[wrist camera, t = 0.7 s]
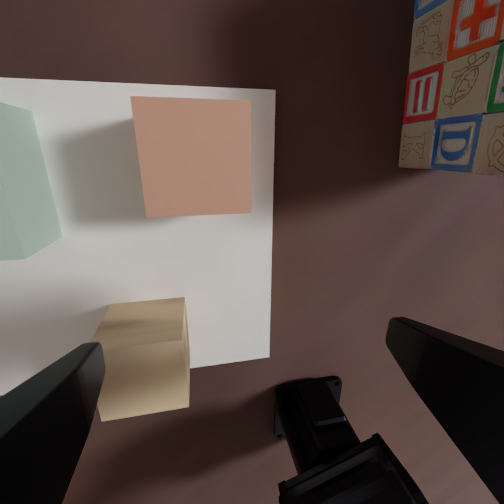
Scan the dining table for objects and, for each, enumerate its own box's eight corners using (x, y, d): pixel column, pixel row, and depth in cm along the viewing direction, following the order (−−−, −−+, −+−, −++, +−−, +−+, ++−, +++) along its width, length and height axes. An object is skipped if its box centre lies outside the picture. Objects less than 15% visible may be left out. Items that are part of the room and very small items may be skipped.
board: (267, 352, 24) (269, 357, 23) (-60, 397, 19) (-67, 404, 19) (272, 91, 17) (275, 89, 16) (-224, 70, 13) (-243, 66, 12)
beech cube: (190, 352, 21) (188, 406, 17) (122, 361, 21) (101, 421, 16) (184, 296, 20) (181, 339, 15) (111, 303, 19) (84, 351, 14)
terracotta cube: (237, 198, 18) (251, 213, 14) (159, 201, 17) (146, 217, 13) (235, 116, 17) (251, 100, 12) (149, 113, 16) (130, 95, 11)
